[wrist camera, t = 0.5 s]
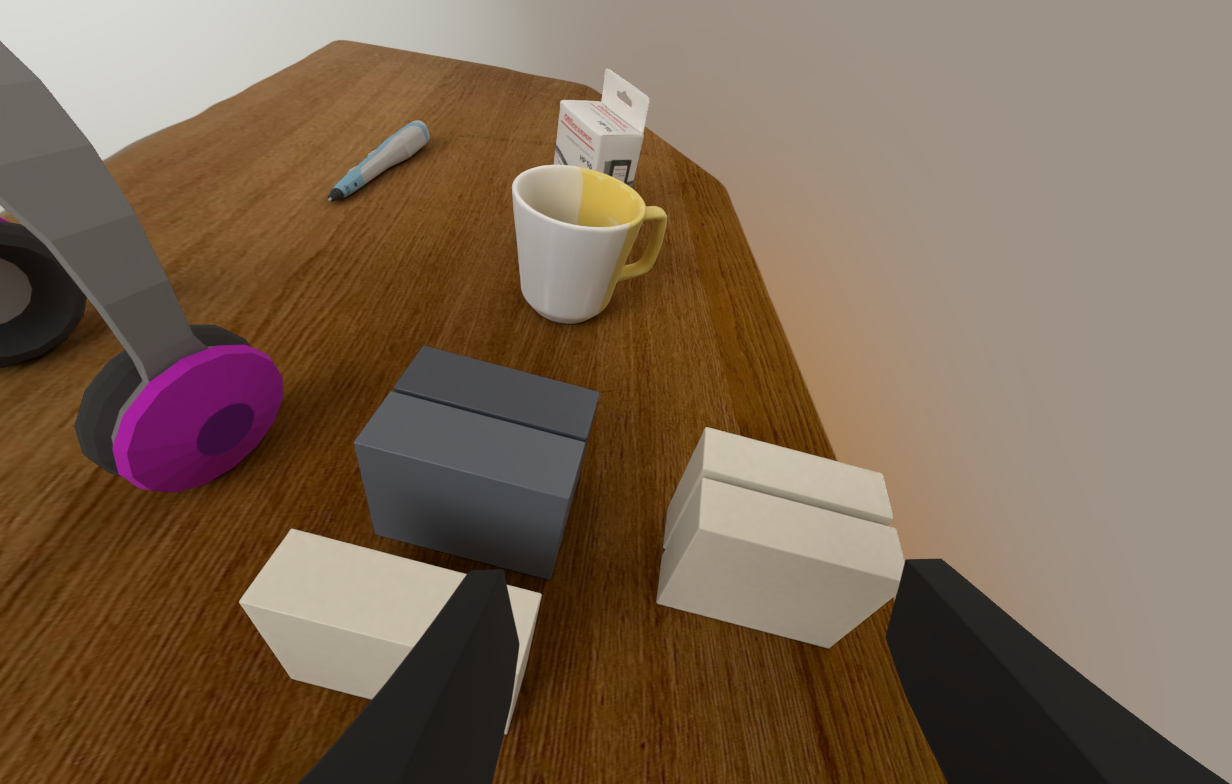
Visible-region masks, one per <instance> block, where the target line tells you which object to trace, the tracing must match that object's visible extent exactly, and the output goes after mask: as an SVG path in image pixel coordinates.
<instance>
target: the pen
mask: <svg viewBox="0 0 1232 784" xmlns="http://www.w3.org/2000/svg"><path fill="white" fill-rule="evenodd" d="M429 139H430V135H429V132H428V129H427V126H426V124H425V123H423V122H422V121H413V122H411V123H410V124H408V125H406V126H404V127H403V128H402V129H400V130H399V131H398V132H396V133H395V134H393V135H392V136H391V137H389V138H388V139H387V140H385V141H384V142H383V143H382V144H381V145H380V146H379V147H378V148H377V149H376V150H374V151H372V152H370V153H369V154H368V157H367V158H366V159H364V160H363V161H362V162H361V163H360V164H359V165H357V166H356V167H353V168H352V169H350V170H349V171H348V174H347V175H346V176H344V177H343V178H342V179H341V180H340V181H339V182H338V183H337V184H336V185H335V186H334V187H333V189H332V191H331V193H330V194H329V196H328V201H331V202H333V201H336V200H339V199H342V198H345V197H347V196H348V195H350V194H352V193H354V192H355V191H357V190H358V189H359V188H361V187H362V186H364V185H365V184H366V183H368V182H369V181H371V180H372V179H373V178H375V177H376V176H378V175H379V174H380V173H382V172H383V171H385V170H386V169H388V168H390V167H392V166H394V165H396V164H398V163H400V162H402V161H404V160H406V159H408V158H410V157H411V156H412V155H413V154H415V153H416V152H417V151H418V150H419V149H421V148H422V147H423V146H424V145H425V144H427V143H428V141H429Z"/></svg>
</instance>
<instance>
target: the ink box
mask: <svg viewBox="0 0 1232 784" xmlns="http://www.w3.org/2000/svg"><path fill="white" fill-rule="evenodd" d="M618 91H620V92H621V93H624V92H626V94H627V97H628V98H629V99H631V101H632V107H629V106H628V105H627V104H626V103H624V102H623V101H622V100H621V99H619V98H618V96H617V93H618ZM649 104H650V99H649V97H648V96H647V95H645V94H644V93H642V92H641V91H639V90H638V89H637V88H636V87H634V86H633V85H631V84H630V83H629V82H627V81H626V80H624V79H623V78H621V77H620V76H618V75H617V74H615V73H614V72H612V71H611V70H610V69H606V71H605V78H604V86H603V94H602V101H601V102H598V101H579V100H561V102H560V114H559V123H558V132H557V141H556V150H555V158H554V165H569V166H576V167H582V168H587V169H591V170H594V171H598V172H601V173H604V174H606V175H609V176H611V177H613V178H616V179H618V180H620V181H622V182H623V183H625V184H627V185H628V186H630V187H631V188H632V186H633V181H634V177H635V172H636V168H637V164H638V159H639V155H640V150H641V146H642V141H643V137H644V136H643V132H644V127H645V122H646V118H647V113H648V109H649Z"/></svg>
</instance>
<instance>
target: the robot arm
mask: <svg viewBox="0 0 1232 784" xmlns="http://www.w3.org/2000/svg"><path fill="white" fill-rule="evenodd" d="M886 641H887V644H888V647H889V649H890V652H891V655H892V658H893V661H894V664H895V667H896V670H897V673H898V675H899V678H900V681H901V684H902V686H903V689H904V692H905V694H906V697H907V699H908V702H909V704H910V706H911V708H912V710H913V712H914V714H915V716H916V719H917V721H918V723H919V725H920V727H921V729H922V731H923V733H924V735H925V737H926V739H927V741H928V743H929V746H930V748H931V750H932V752H933V754H934V756H935V758H936V760H937V762H938V764H939V766H940V768H941V770H942V772H943V774H944V776H945V778H946V780H947V782H948V784H1229V783H1228V782H1226V781H1225V780H1223V779H1222V778H1221V777H1219V776H1218V775H1216V774H1215V773H1213V772H1212V771H1210V770H1209V769H1207V768H1206V767H1204V766H1203V765H1201V764H1200V763H1199V762H1197V761H1196V760H1195V759H1193V758H1192V757H1191V756H1189V755H1188V754H1186V753H1185V752H1183V751H1182V750H1181V749H1179V748H1178V747H1177V746H1175V745H1174V744H1172V743H1171V742H1170V741H1168V740H1167V739H1166V738H1164V737H1163V736H1162V735H1160V734H1159V733H1158V732H1156V731H1155V730H1154V729H1152V728H1151V727H1149V726H1148V725H1147V724H1145V723H1144V722H1143V721H1142V720H1140V719H1139V718H1138V717H1136V716H1135V715H1134V714H1132V713H1131V712H1129V711H1128V710H1127V709H1126V708H1124V707H1123V706H1121V705H1120V704H1119V703H1118V702H1116V701H1115V700H1114V699H1112V698H1111V697H1110V696H1108V695H1107V694H1106V693H1105V692H1103V691H1102V690H1101V689H1099V688H1098V687H1097V686H1096V685H1094V684H1093V683H1091V682H1090V681H1089V680H1088V679H1086V678H1085V677H1084V676H1083V675H1082V674H1080V673H1079V672H1078V671H1077V670H1075V669H1074V668H1073V667H1071V666H1070V665H1069V664H1068V663H1066V662H1065V661H1064V660H1063V659H1062V658H1060V657H1059V656H1058V655H1057V654H1055V653H1054V652H1053V651H1052V650H1050V649H1049V648H1048V647H1047V646H1045V645H1044V644H1043V643H1042V642H1040V641H1039V640H1038V639H1037V638H1036V637H1034V636H1033V635H1032V634H1031V633H1030V632H1028V631H1027V630H1026V629H1025V628H1023V627H1022V626H1021V625H1020V624H1019V623H1018V622H1017V621H1015V620H1014V619H1013V618H1012V617H1011V616H1009V615H1008V614H1007V613H1006V612H1005V611H1003V610H1002V609H1001V608H1000V607H999V606H997V605H996V604H995V603H994V602H993V601H991V600H990V599H989V598H988V597H987V596H986V595H984V594H983V593H982V592H981V591H980V590H978V589H977V588H976V587H975V586H974V585H972V584H971V583H970V582H969V581H968V580H967V579H965V578H964V577H963V576H962V575H961V574H959V573H958V572H957V571H956V570H955V569H953V568H952V567H951V566H950V565H948V564H947V563H946V562H945V561H943V560H942V559H910V560H905V563H904V567H903V571H902V575H901V579H900V583H899V587H898V591H897V595H896V599H895V603H894V607H893V610H892V614H891V618H890V622H889V626H888V630H887V634H886ZM519 645H520V643H519V638H518V634H517V629H516V625H515V620H514V616H513V611H512V607H511V602H510V597H509V593H508V588H507V584H506V579H505V575H504V570H503V569H499V570H471V571H470V572H469V573H468V574H467V575H466V576H465V577H464V579H463V580H462V581H461V583H460V584H459V586H458V587H457V588H456V590H455V591H454V593H453V594H452V596H451V597H450V598H449V600H448V601H447V603H446V604H445V605H444V607H443V608H442V609H441V611H440V612H439V614H438V615H437V616H436V618H435V619H434V620H433V622H432V623H431V625H430V626H429V627H428V629H427V630H426V631H425V633H424V634H423V635H422V637H421V638H420V639H419V641H418V642H417V643H416V645H415V646H414V647H413V648H412V650H411V651H410V652H409V654H408V655H407V656H406V657H405V659H404V660H403V661H402V663H401V664H400V665H399V667H398V668H397V669H396V670H395V672H394V673H393V674H392V676H391V677H390V678H389V679H388V681H387V682H386V683H385V684H384V686H383V687H382V688H381V689H380V690H379V692H378V693H377V694H376V695H375V696H374V698H373V699H372V700H371V701H370V702H369V704H368V705H367V706H366V707H365V708H364V709H363V711H362V712H361V713H360V714H359V715H358V717H357V718H356V719H355V720H354V721H353V723H352V724H351V725H350V726H349V727H348V729H347V730H346V731H345V732H344V733H343V734H342V736H341V737H340V738H339V739H338V740H337V741H336V742H335V743H334V745H333V746H332V747H331V748H330V749H329V750H328V751H327V752H326V754H325V755H324V756H323V757H322V758H321V759H320V760H319V761H318V762H317V764H316V765H315V766H314V767H313V768H312V769H311V770H310V771H309V772H308V773H307V774H306V775H305V777H304V778H303V779H302V780H301V781H300V782H299V783H298V784H492V780H493V776H494V772H495V768H496V764H497V760H498V756H499V752H500V748H501V744H502V740H503V736H504V731H505V727H506V723H507V719H508V715H509V711H510V707H511V702H512V696H513V689H514V682H515V676H516V668H517V661H518V653H519Z"/></svg>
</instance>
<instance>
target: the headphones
mask: <svg viewBox="0 0 1232 784" xmlns="http://www.w3.org/2000/svg"><path fill="white" fill-rule="evenodd" d="M0 205H1V206H2V207H3V208H4V209H5V210H6V211H8V212H9V213H10V214H11V215H12V216H13V217H14V218H16V219H17V220H18V221H19V222H20V223H21V224H22V225H20V224H15V223H10V222H8V221H6V220H4V219H2V218H0V367H7V366H10V365H13V364H17V363H20V362H23V361H27V360H30V359H34V358H37V357H40V356H42V355H43V354H45V353H46V352H48V351H49V350H51V349H52V348H54V347H55V346H57V345H58V344H60V343H61V342H63V341H65V340H66V339H67V338H68V337H69V335H70V334H71V333H72V331H73V330H74V329H75V327H76V326H77V324H78V323H79V322H80V320H81V319H82V318H83V316H84V310H85V305H86V299H87V298H88V299H89V300H90V302H91V303H92V304H93V305H94V307H95V308H96V309H97V311H98V312H99V314H100V315H101V316H102V318H103V319H104V321H105V322H106V323H107V325H108V326H109V328H110V329H111V330H112V332H113V333H114V335H115V336H116V337H117V339H118V340H119V342H120V343H121V344H122V346H123V347H124V349H125V350H123V351H122V352H121V353H119V354H118V355H116V356H115V357H113V358H112V359H110V360H109V361H108V362H107V363H106V365H105V366H104V367H103V368H102V370H101V371H100V372H99V373H98V375H97V376H96V377H95V378H94V380H93V381H92V382H91V383H90V385H89V386H88V387H87V388H86V390H85V392H84V395H83V399H82V402H81V405H80V409H79V412H78V416H77V419H76V422H75V430H76V433H77V436H78V440H79V443H80V447H81V450H82V453H83V454H84V455H85V456H86V457H87V458H88V459H90V460H91V461H93V462H94V463H96V464H97V465H99V466H100V467H101V468H103V469H104V470H106V471H107V472H109V473H110V474H113V475H118V476H122V477H124V478H125V479H126V480H128V481H129V482H131V483H132V484H134V485H135V486H136V487H138V488H140V489H145V490H150V491H164V492H180V491H183V490H187V489H190V488H193V487H197V486H200V485H203V484H207V483H208V482H210V481H212V480H213V479H215V478H217V477H219V476H220V475H222V474H224V473H225V472H227V471H229V470H230V469H232V468H234V467H235V466H236V465H237V464H238V463H239V462H240V461H242V460H243V459H244V458H245V457H246V456H247V455H248V454H249V453H250V452H251V451H252V450H254V449H255V448H256V447H257V446H258V444H259V443H260V441H261V440H262V439H263V437H264V436H265V434H266V433H267V432H268V430H269V429H270V427H271V426H272V425H273V423H274V421H275V418H276V416H277V413H278V410H279V408H280V405H281V402H282V400H283V378H282V376H281V375H280V373H279V371H278V370H277V368H276V366H275V365H274V363H273V361H272V360H271V359H270V358H269V356H268V355H267V354H265V353H263V352H261V351H259V350H256V349H254V348H252V347H251V346H250V345H249V343H248V342H247V341H246V340H245V339H244V338H242V337H240V336H238V335H236V334H234V333H232V332H230V331H227V330H225V329H223V328H221V327H218V326H216V325H189V324H188V322H187V320H186V317H185V315H184V313H183V311H182V309H181V307H180V304H179V302H178V300H177V298H176V296H175V293H174V291H173V289H172V287H171V285H170V282H169V280H168V278H167V276H166V274H165V272H164V270H163V268H162V266H161V264H160V262H159V260H158V258H157V256H156V254H155V252H154V250H153V248H152V246H151V244H150V242H149V240H148V238H147V236H146V234H145V232H144V230H143V228H142V226H141V224H140V222H139V220H138V218H137V216H136V214H135V212H134V210H133V209H132V207H131V206H130V204H129V203H128V201H127V199H126V198H125V196H124V195H123V193H122V192H121V190H120V188H119V187H118V185H117V184H116V182H115V180H114V179H113V177H112V176H111V174H110V173H109V171H108V169H107V168H106V166H105V165H104V163H103V161H102V160H101V158H100V157H99V155H98V154H97V152H96V150H95V149H94V147H93V146H92V144H91V143H90V142H89V140H88V139H87V138H86V137H85V135H84V134H83V133H82V132H81V130H80V129H79V128H78V127H77V126H76V124H75V123H74V121H73V120H72V119H71V118H70V116H69V115H68V114H67V113H66V111H65V110H64V109H63V108H62V106H61V105H60V104H59V103H58V101H57V100H56V99H55V98H54V96H53V95H52V94H51V93H50V91H49V90H48V89H47V88H46V86H45V85H44V84H43V83H42V81H41V80H40V79H39V78H38V77H37V76H36V75H35V74H34V73H33V72H32V71H31V70H30V69H29V68H28V67H27V66H26V65H24V64H23V63H22V62H21V61H20V60H19V59H18V58H17V57H16V56H15V55H14V54H13V53H12V52H11V51H10V50H9V49H8V48H7V47H6V46H5V45H4V44H3V43H2V42H1V41H0Z"/></svg>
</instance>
